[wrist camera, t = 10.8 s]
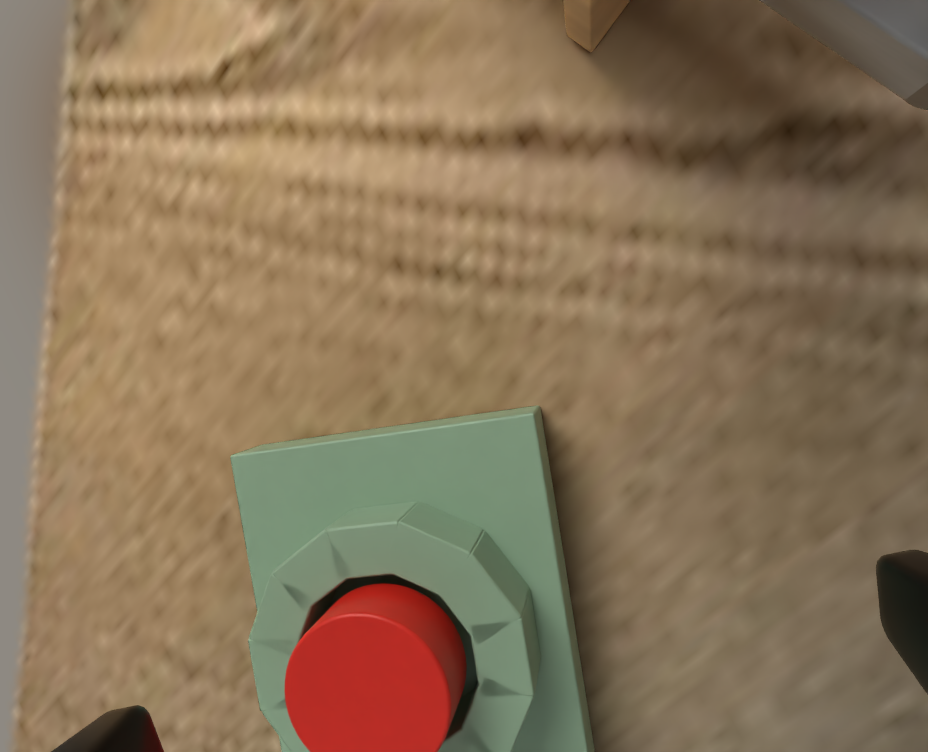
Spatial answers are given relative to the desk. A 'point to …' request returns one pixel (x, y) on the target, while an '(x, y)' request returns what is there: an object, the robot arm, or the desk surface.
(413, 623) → the button
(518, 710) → the button block
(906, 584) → the robot arm
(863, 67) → the cupboard door
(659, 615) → the desk surface
